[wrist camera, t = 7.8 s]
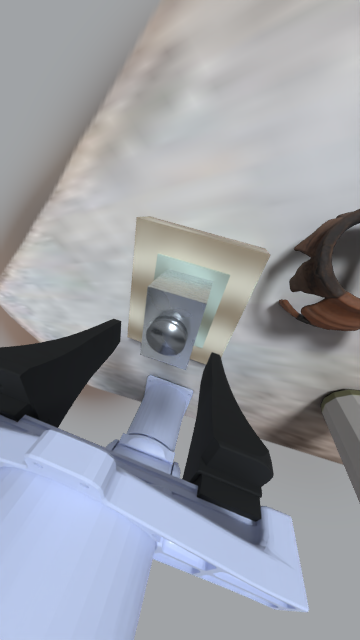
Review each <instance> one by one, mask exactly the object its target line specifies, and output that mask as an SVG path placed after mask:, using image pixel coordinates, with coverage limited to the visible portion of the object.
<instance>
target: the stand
mask: <svg viewBox="0 0 360 640" xmlns="http://www.w3.org/2000/svg"><path fill="white" fill-rule="evenodd" d="M269 257H270V254H269V252H268V251H267V250H266V249H264V248H261V247H257V246H254V245H250V244H246V243H243V242H239V241H236V240H232V239H228V238H225V237H221V236H218V235H214V234H211V233H207V232H203V231H200V230H196V229H193V228H189V227H185V226H182V225H178V224H175V223H171V222H168V221H164V220H160V219H157V218H153V217H137V220H136V233H135V246H134V259H133V272H132V285H131V298H130V311H129V323H128V336H127V337H128V338H131V339H134V340H137V341H140V342H142V334H143V325H144V316H145V307H146V297H147V288H148V286H149V285H150V284H151V283H152V282H153V281H154V280H156V279H157V278H158V277H159V276H160V275H161V274H162V273H164V272H165V271H166V270H167V269H171V270H175V271H178V272H182V273H185V274H189V275H192V276H196V277H200V278H203V279H207V280H210V281H213V284H212V288H211V291H210V295H209V298H208V302H207V305H206V308H205V311H204V314H203V318H202V321H201V324H200V327H199V330H198V333H197V337H196V340H195V343H194V346H193V349H192V352H191V356H190V359H192V360H195V361H197V362H200V363H203V364H207V362H208V359H209V357H210V355H211V352H213V353H216V354H219V355H220V356H221V357H222V355H223V353H224V351H225V349H226V347H227V344H228V342H229V340H230V338H231V336H232V334H233V332H234V330H235V328H236V326H237V324H238V322H239V319H240V317H241V315H242V313H243V311H244V309H245V307H246V305H247V303H248V301H249V299H250V297H251V294H252V292H253V290H254V288H255V286H256V284H257V282H258V280H259V278H260V276H261V274H262V272H263V270H264V267H265V265H266V263H267V261H268V259H269Z"/></svg>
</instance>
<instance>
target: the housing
mask: <svg viewBox="0 0 360 640" xmlns="http://www.w3.org/2000/svg"><path fill="white" fill-rule="evenodd" d="M212 284H213V281H210V280H207V279H203V278H200V277H196V276H192V275H189V274H185V273H182V272H178V271H175V270H171V269H167V270H166V271H165V272H164V273H162V274H161V275H160V276H159V277H158V278H157V279H156V280H154V281H153V282H152V283H151V284H150V285H149V286H148V288H147V297H146V307H145V316H144V325H143V334H142V344H141V353H140V355H143V356H146V357H149V358H152V359H155V360H158V361H161V362H164V363H167V364H169V365H172V366H175V367H178V368H181V369H184V370H186V368H187V365H188V362H189V359H190V356H191V352H192V349H193V346H194V343H195V340H196V337H197V333H198V330H199V327H200V324H201V321H202V318H203V314H204V311H205V308H206V305H207V302H208V298H209V295H210V291H211V288H212Z"/></svg>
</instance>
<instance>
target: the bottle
mask: <svg viewBox="0 0 360 640" xmlns="http://www.w3.org/2000/svg"><path fill="white" fill-rule="evenodd" d="M321 411H322V414H323V416H324V419H325V421H326V423H327V426H328V428H329V431H330V433H331V435H332V438H333V440H334V443H335V445H336V447H337V450H338V452H339V454H340V457H341V459H342V462H343V464H344V466H345V469H346V471H347V474H348V476H349V478H350V481H351V483H352V485H353V488H354V490H355V493H356V495H357V497H358V500H359V502H360V391H359V390H343V391H338V392H333V393H332V394H330V395H329V396H327V397H325V398H324V399H323V402H322V404H321Z"/></svg>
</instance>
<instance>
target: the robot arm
mask: <svg viewBox="0 0 360 640" xmlns="http://www.w3.org/2000/svg"><path fill="white" fill-rule="evenodd" d="M120 335H121V321H119V320H116V319H112V320H110V321H107V322H105V323H102V324H100V325H98V326H95V327H93V328H90V329H88V330H85V331H82V332H79V333H77V334H74V335H70V336H67V337H63V338H60V339H56V340H51V341H46V342H42V343H36V344H29V345H22V346H13V347H1V348H0V640H134V637H135V633H136V628H137V624H138V620H139V616H140V611H141V607H142V602H143V598H144V594H145V589H146V585H147V581H148V577H149V573H150V568H151V564H152V560H153V559H154V560H157V561H159V562H161V563H164V564H166V565H169V566H172V567H174V568H176V569H179V570H181V571H184V572H187V573H189V574H192V575H194V576H196V577H199V578H202V579H204V580H207V581H209V582H212V583H214V584H217V585H219V586H221V587H224V588H226V589H229V590H231V591H234V592H236V593H238V594H241V595H243V596H245V597H248V598H250V599H253V600H255V601H257V602H259V603H261V604H263V605H266V606H268V607H270V608H272V609H275V610H287V611H299V612H308V611H309V607H308V601H307V597H306V591H305V586H304V580H303V575H302V570H301V565H300V559H299V554H298V549H297V544H296V539H295V533H294V528H293V523H292V518H291V517H290V516H289V515H287V514H285V513H282V512H280V511H277V510H275V509H272V508H270V507H267V506H260V498H261V497H262V490H261V487H262V486H263V485H264V484H266V483H267V482H269V481H270V480H271V479H272V478H273V468H272V462H271V458H270V454H269V450H268V449H267V448H266V446H265V445H264V444H263V442H262V441H261V440H260V438H259V437H258V436H257V435H256V433H255V432H254V430H253V429H252V427H251V426H250V424H249V423H248V421H247V420H246V418H245V416H244V415H243V413H242V411H241V410H240V408H239V406H238V404H237V402H236V400H235V398H234V396H233V393H232V391H231V389H230V386H229V384H228V381H227V378H226V375H225V372H224V368H223V365H222V361H221V356H220V355H219V354H216V353H213V352H211V355H210V357H209V359H208V362H207V364H206V366H205V369H204V371H203V375H202V380H201V385H200V393H199V402H198V411H197V417H196V422H195V427H194V432H193V436H192V441H191V445H190V449H189V454H188V458H187V463H186V466H185V471H184V475H183V479H180V468H179V466H178V463H177V462H174V463H173V460H174V456H175V452H174V450H175V446H176V442H177V438H178V434H179V430H180V426H181V422H182V418H183V416H184V414H185V411H186V409H187V407H188V404H189V402H190V400H191V397H192V395H193V391H192V390H191V389H188V388H185V387H182V386H180V385H177V384H174V383H171V382H169V381H166V380H163V379H160V378H158V377H155V376H152V375H149V376H148V378H147V383H146V389H145V394H144V398H143V400H142V402H141V405H140V407H139V409H138V411H137V413H136V415H135V417H134V419H133V421H132V423H131V425H130V427H129V429H128V432H127V434H125V433H123V435H122V437H121V439H120V441H119V440H117V439H116V440H114V441H113V442H111V443H110V444H108V445H107V446H106V448H105V447H102V446H100V445H98V444H95V443H93V442H90V441H88V440H85V439H83V438H80V437H78V436H76V435H73V434H71V433H68V432H66V431H64V430H61V429H59V428H58V427H59V425H60V424H61V422H62V420H63V419H64V417H65V415H66V414H67V412H68V410H69V409H70V407H71V406H72V404H73V402H74V401H75V400H76V398H77V397H78V395H79V394H80V392H81V391H82V389H83V388H84V386H85V385H86V384H87V382H88V381H89V380H90V378H91V377H92V376H93V374H94V373H95V372H96V371H97V370H98V369H99V368H100V366H101V365H102V364H103V363H104V362H105V361H106V360H107V359H108V357H109V356H110V355H111V354H112V353H113V352H114V350H115V349H116V347H117V346H118V344H119V342H120ZM172 464H173V465H172Z"/></svg>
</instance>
